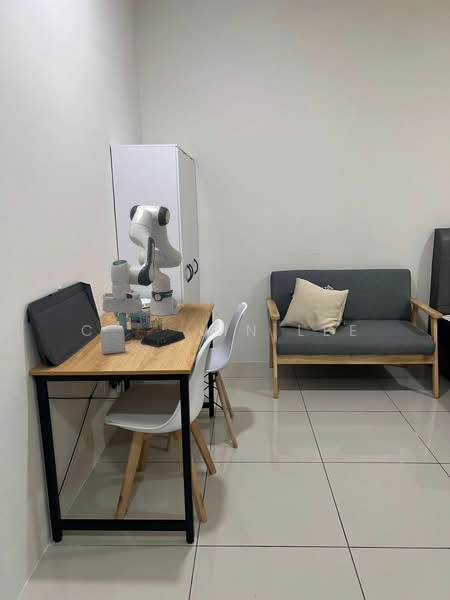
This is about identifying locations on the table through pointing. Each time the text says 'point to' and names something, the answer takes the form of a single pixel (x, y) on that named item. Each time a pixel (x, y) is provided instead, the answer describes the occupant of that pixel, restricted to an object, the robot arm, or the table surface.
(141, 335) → the socket block
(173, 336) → the external hard drive
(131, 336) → the tray
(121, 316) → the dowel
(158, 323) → the dog
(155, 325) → the dog
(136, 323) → the light bulb box
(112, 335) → the photo printer
